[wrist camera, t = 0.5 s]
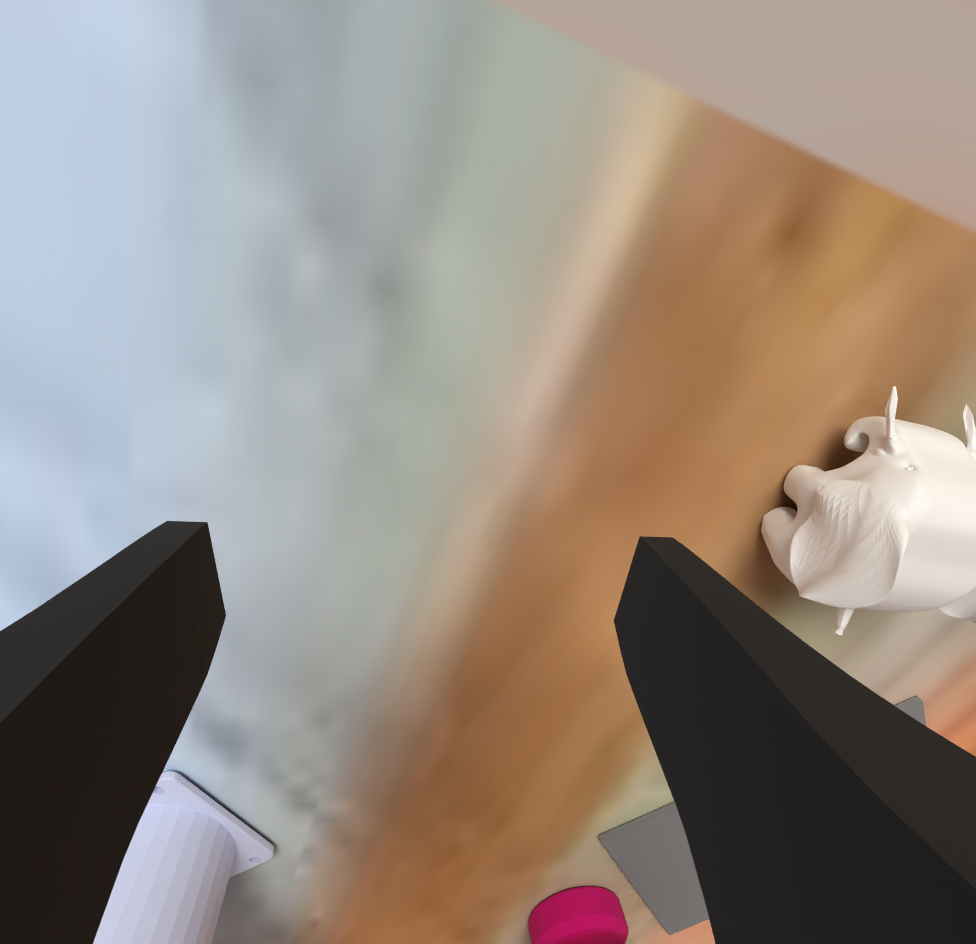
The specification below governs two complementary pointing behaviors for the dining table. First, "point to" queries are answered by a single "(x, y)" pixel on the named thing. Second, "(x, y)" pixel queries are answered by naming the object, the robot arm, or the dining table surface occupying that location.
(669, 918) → the mat
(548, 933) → the pepper mill
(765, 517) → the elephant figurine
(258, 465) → the dining table surface
